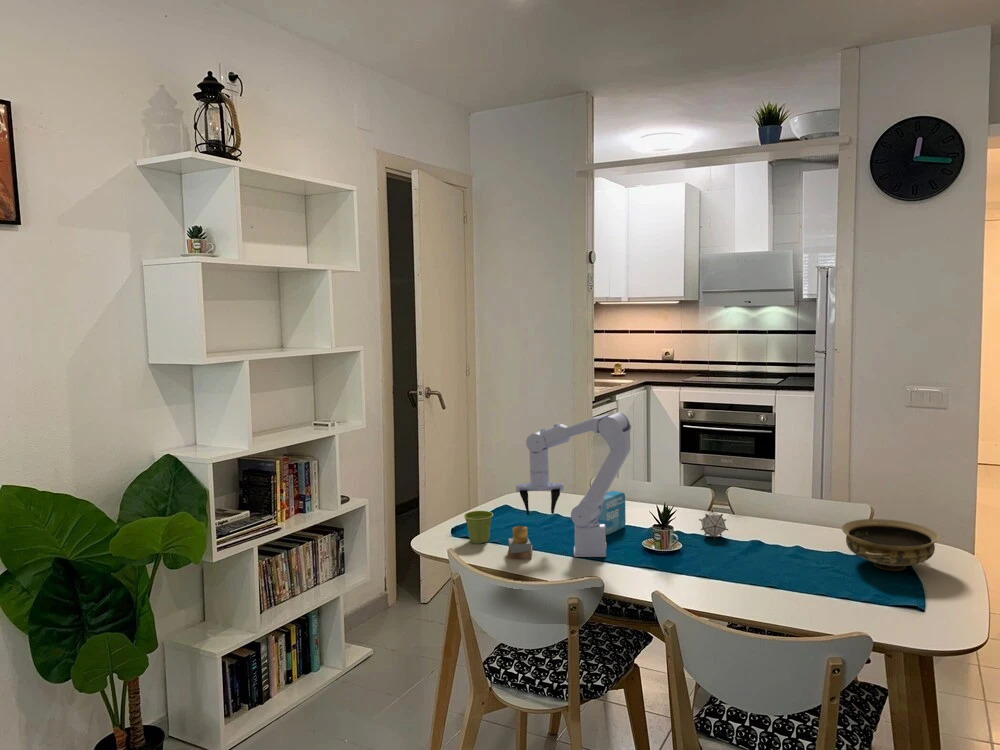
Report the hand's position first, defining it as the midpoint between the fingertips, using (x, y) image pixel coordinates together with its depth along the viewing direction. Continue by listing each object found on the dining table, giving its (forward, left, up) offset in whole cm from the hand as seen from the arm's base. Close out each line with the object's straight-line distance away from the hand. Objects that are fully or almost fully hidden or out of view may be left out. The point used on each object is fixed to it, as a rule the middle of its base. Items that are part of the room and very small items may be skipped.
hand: (540, 513), depth 234 cm
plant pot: (+20, -5, -11) cm, 23 cm away
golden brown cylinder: (+6, +8, -6) cm, 12 cm away
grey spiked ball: (-54, -9, -11) cm, 56 cm away
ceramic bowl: (-97, +16, -11) cm, 99 cm away
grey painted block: (+6, +8, -9) cm, 13 cm away
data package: (-22, -16, -11) cm, 29 cm away
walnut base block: (+6, +8, -11) cm, 15 cm away
